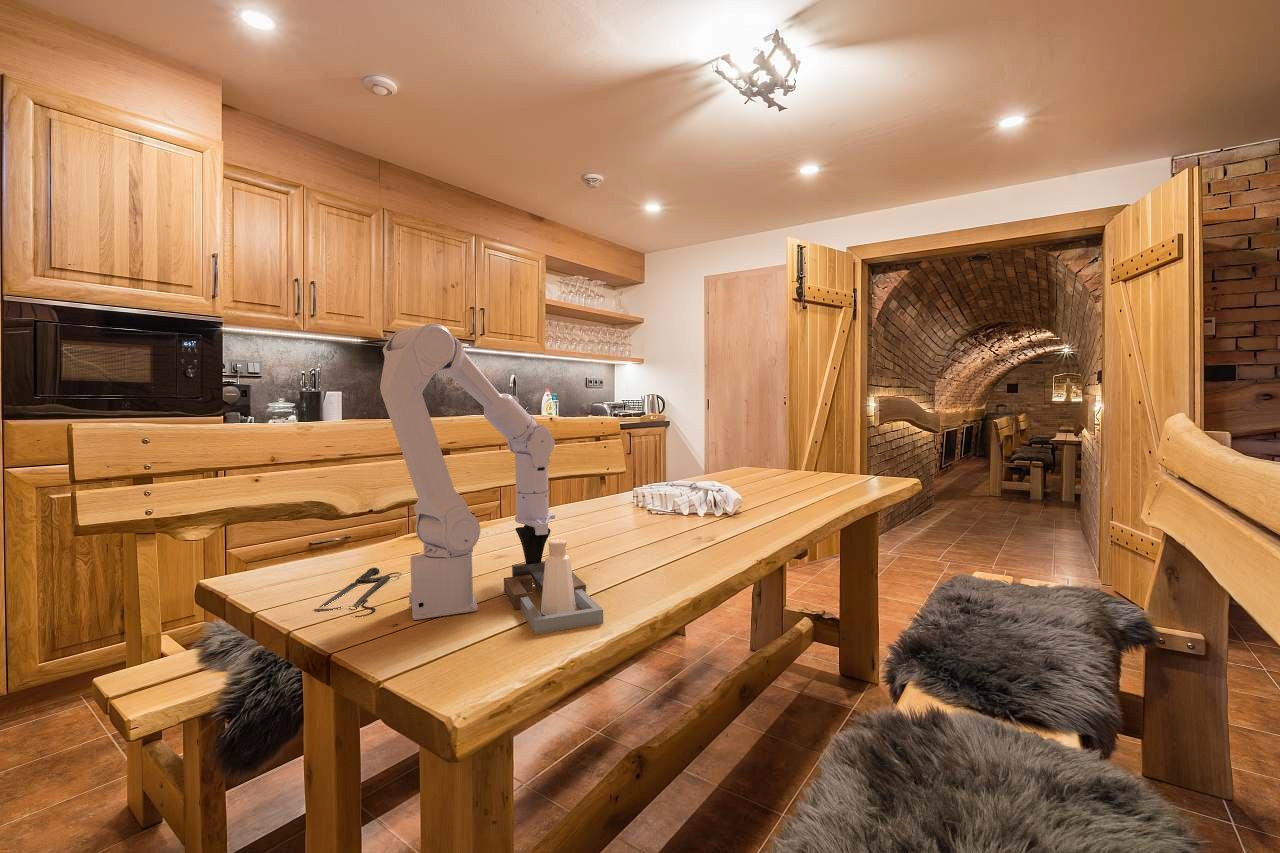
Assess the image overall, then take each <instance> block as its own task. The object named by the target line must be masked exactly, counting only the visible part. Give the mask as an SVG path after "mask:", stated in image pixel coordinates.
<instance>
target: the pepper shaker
mask: <svg viewBox="0 0 1280 853" xmlns="http://www.w3.org/2000/svg"><path fill="white" fill-rule="evenodd" d="M567 544H568V542H567V541H566V540H565V539H561V538H557V539H551V540H548V542H547V545H548V552H549V554H548V556H547V557H545V559H544V561H545V569H544V580H543V592H542V594H541V605H540V607H541V608H540V612H541V613H542V614H543V616H546V615H552V614H559V613H565V612H572V611H577V607H576V606H577V604H576V603H575V595H574V587H573V578H572V572H573V571H572V564H571V557H570V556H569V555H567Z"/></svg>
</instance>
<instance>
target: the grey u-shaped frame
mask: <svg viewBox="0 0 1280 853" xmlns="http://www.w3.org/2000/svg"><path fill="white" fill-rule="evenodd" d="M587 593H588V592H587V591H586V592H584V591H583V590H582V589H577V590H575V603H576V606H578V608H580V610H579V609H577V610H576V611H572V612H565V613H559V614H552V615H546V616H545V615H542V614H541V613H540V612H539V610H538V609H537V607H536V606H535V605H534V603H533V602H532V601H531V599H530V597H529V596H527V597H521V598H520V610H519V611H520V612H521V614H522V616H523V617H524V618H525V621H526V622H527V624H528V625H529V627H530V628H531V630H532V632H533V633H534V635H540V634H546V633H553V632H559V631H560V632H561V631H564V630H565V631H566V630H571V629H576V628H578V629H579V628H583V627H587V626H589V627H590V626H594V625H600V624H604V609H603V608H602V607H601V606H600V605H599V604H598V603H597V601H595V600H594V599H593V598H592V597H591V596H590V595H589V594H587Z"/></svg>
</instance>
